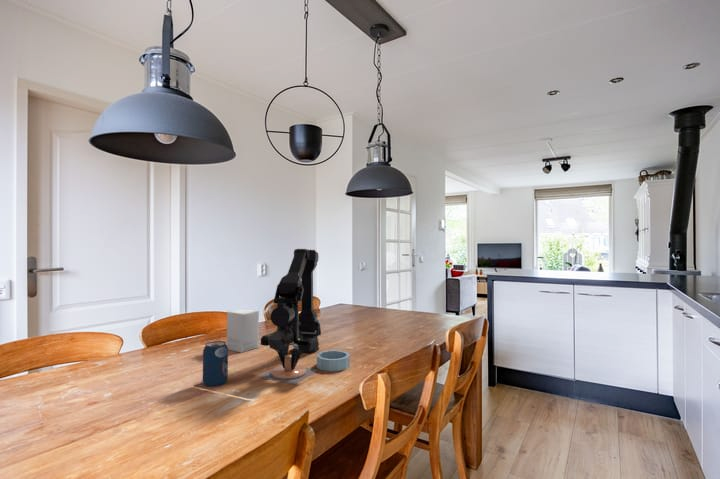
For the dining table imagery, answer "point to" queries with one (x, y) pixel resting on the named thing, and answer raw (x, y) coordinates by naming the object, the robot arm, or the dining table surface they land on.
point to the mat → (290, 381)
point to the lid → (288, 370)
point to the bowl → (333, 360)
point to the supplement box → (242, 330)
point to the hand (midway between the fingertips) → (288, 368)
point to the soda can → (215, 363)
